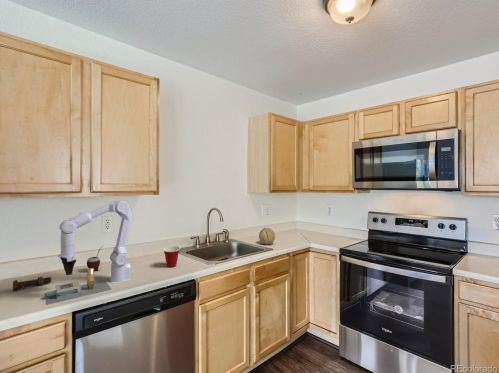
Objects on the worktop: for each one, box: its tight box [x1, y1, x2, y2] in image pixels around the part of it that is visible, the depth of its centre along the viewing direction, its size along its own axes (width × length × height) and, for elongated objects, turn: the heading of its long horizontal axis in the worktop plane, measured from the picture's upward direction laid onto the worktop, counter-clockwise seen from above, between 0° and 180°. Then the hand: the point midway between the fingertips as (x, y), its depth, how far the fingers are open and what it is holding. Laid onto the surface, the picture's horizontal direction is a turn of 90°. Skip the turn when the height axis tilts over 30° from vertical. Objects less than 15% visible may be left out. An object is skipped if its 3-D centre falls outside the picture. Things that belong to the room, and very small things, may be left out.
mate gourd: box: [86, 244, 105, 272], centre depth 159 cm, size 8×8×15 cm
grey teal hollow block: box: [45, 280, 81, 299], centre depth 123 cm, size 13×8×4 cm, turn 131°
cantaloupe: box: [258, 227, 276, 245], centre depth 232 cm, size 15×15×15 cm
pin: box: [86, 267, 95, 290], centre depth 131 cm, size 3×3×10 cm
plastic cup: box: [162, 245, 181, 268], centre depth 168 cm, size 11×11×12 cm
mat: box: [44, 280, 112, 306], centre depth 128 cm, size 26×16×1 cm, turn 131°
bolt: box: [12, 276, 52, 292], centre depth 133 cm, size 6×5×15 cm
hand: (68, 272), depth 127 cm, fingers open, 7 cm apart
